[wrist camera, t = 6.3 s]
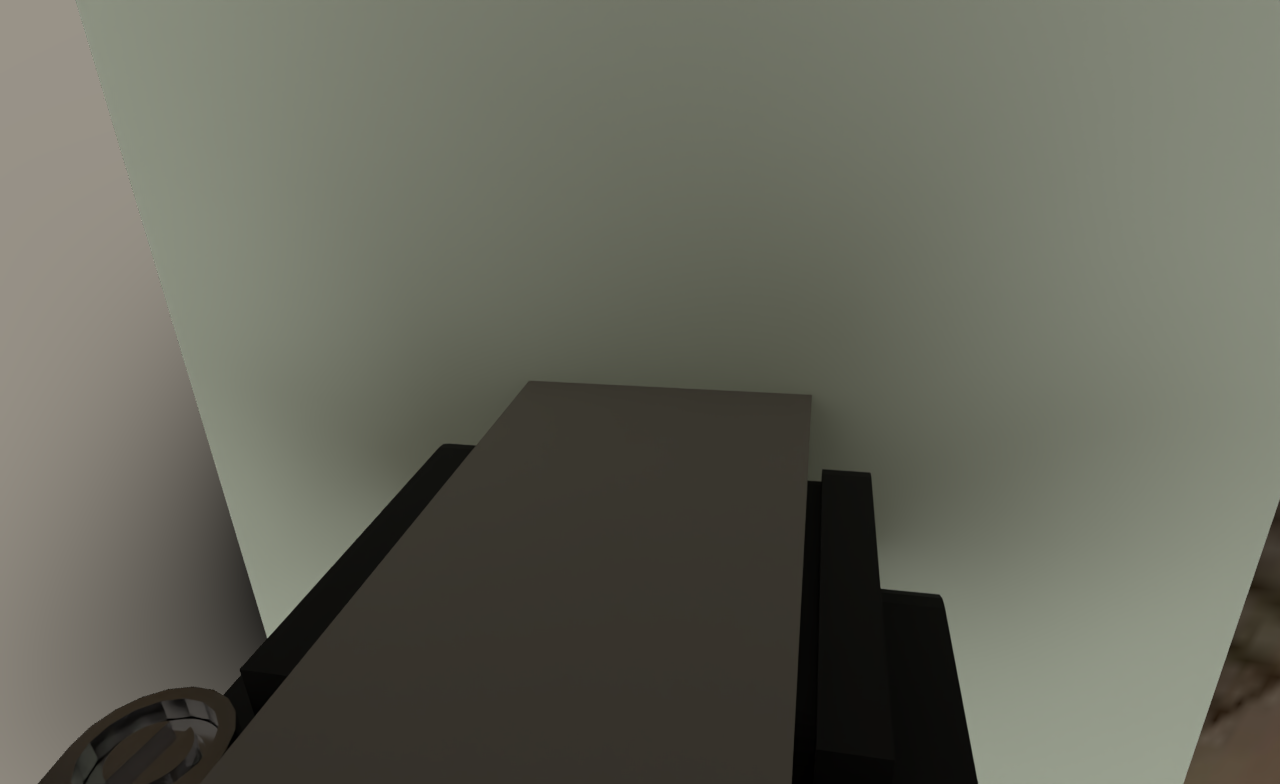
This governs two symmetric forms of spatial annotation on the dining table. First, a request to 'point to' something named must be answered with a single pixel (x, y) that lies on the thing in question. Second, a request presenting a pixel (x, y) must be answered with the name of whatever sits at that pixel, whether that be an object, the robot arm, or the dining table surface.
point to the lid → (719, 358)
